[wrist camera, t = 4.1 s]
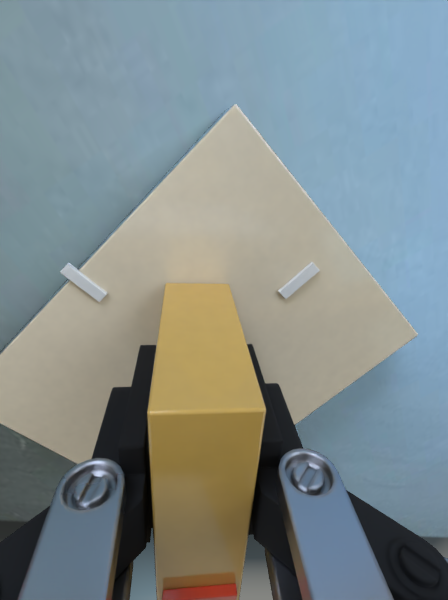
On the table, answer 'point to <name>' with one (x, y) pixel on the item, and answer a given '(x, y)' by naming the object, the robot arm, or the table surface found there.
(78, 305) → the dial base plate
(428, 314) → the table surface
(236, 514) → the tan block
